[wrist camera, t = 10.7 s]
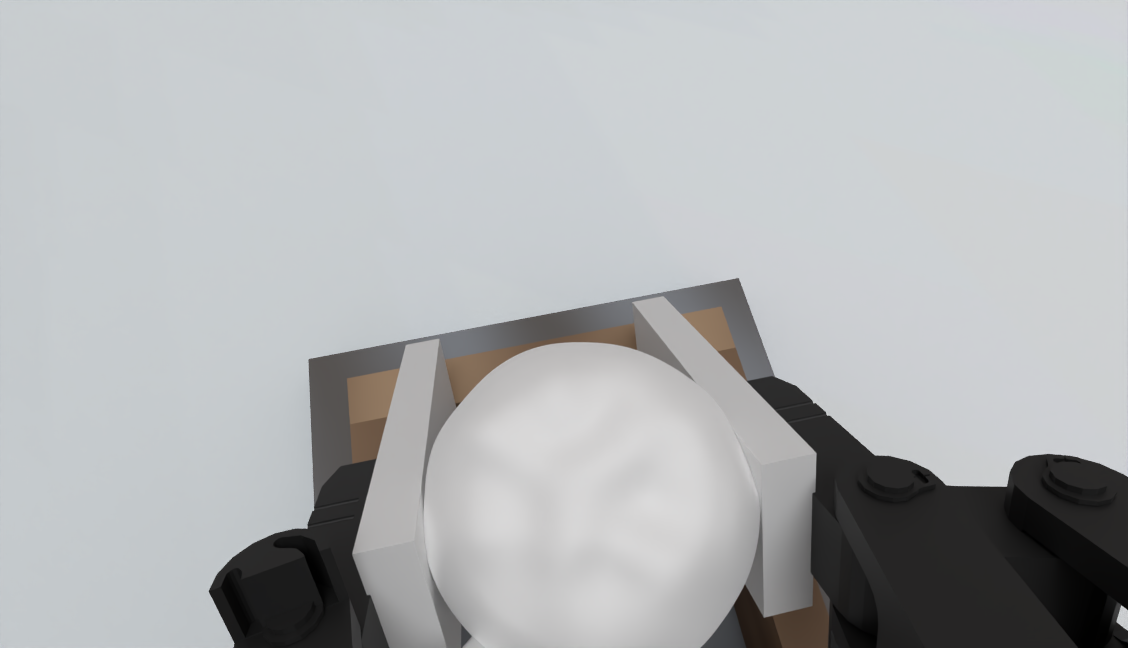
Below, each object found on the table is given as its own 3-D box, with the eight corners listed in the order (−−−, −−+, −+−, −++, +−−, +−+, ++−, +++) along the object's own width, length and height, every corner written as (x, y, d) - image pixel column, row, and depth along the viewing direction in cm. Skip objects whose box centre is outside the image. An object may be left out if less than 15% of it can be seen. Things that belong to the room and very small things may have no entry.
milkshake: (443, 583, 15) (228, 595, 6) (565, 416, 17) (545, 222, 8) (589, 705, 14) (604, 959, 5) (704, 513, 16) (880, 424, 6)
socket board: (350, 920, 14) (269, 1056, 10) (323, 371, 19) (263, 320, 15) (899, 772, 15) (1016, 840, 11) (729, 294, 20) (768, 228, 17)
